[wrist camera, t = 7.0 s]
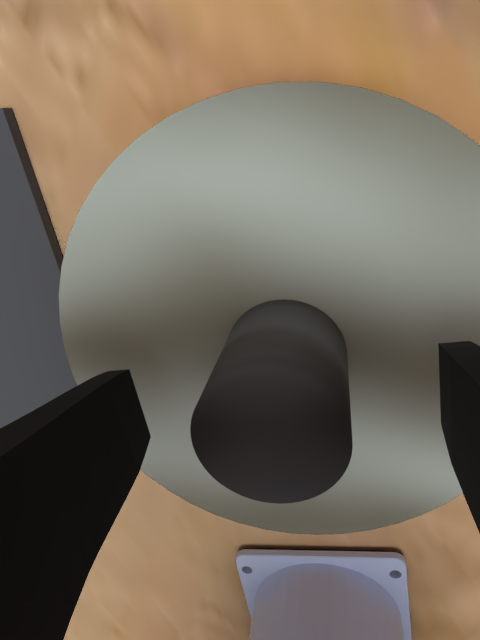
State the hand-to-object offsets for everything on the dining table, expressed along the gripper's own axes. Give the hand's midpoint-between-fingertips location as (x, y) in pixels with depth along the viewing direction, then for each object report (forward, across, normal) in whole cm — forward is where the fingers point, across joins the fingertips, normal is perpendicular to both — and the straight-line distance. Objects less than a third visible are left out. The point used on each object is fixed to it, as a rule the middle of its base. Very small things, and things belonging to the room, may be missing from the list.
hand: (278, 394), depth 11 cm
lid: (+2, 0, 0) cm, 3 cm away
